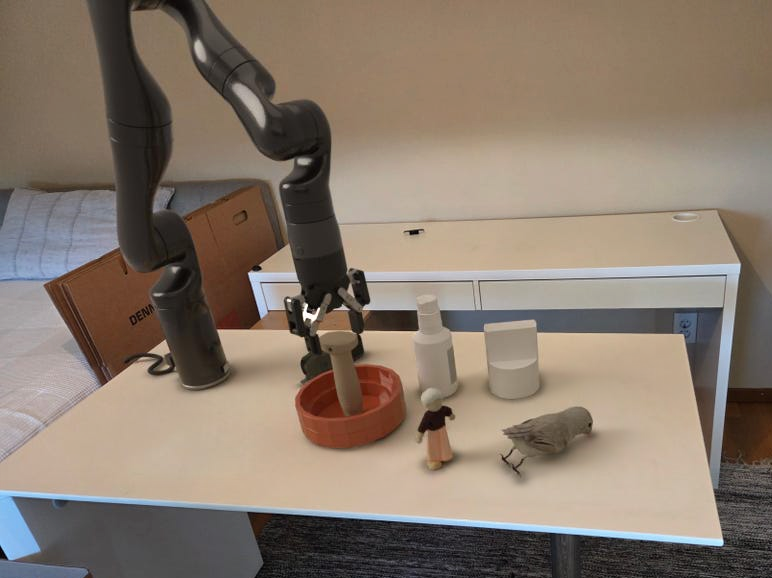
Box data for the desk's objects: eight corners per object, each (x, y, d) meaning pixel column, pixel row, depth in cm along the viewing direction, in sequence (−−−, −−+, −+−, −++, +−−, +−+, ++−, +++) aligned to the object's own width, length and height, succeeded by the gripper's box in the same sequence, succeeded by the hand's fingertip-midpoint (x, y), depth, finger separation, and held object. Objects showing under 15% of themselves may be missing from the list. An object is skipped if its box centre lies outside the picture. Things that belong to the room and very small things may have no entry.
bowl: (282, 430, 108) (273, 400, 105) (359, 383, 120) (353, 355, 117) (350, 465, 98) (342, 433, 95) (427, 410, 109) (423, 380, 106)
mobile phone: (355, 330, 129) (290, 358, 120) (364, 334, 127) (298, 362, 118) (359, 352, 131) (295, 381, 122) (367, 356, 129) (303, 386, 120)
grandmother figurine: (437, 477, 93) (426, 405, 87) (417, 470, 95) (404, 399, 89) (466, 448, 99) (457, 378, 93) (446, 442, 101) (436, 373, 95)
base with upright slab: (536, 370, 118) (533, 312, 112) (542, 396, 110) (539, 335, 104) (488, 375, 118) (482, 316, 112) (490, 401, 110) (484, 340, 104)
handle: (364, 426, 105) (346, 347, 98) (331, 421, 107) (311, 343, 100) (377, 410, 109) (362, 333, 102) (345, 406, 111) (328, 329, 104)
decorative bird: (602, 441, 97) (602, 400, 94) (516, 483, 91) (512, 441, 87) (579, 425, 101) (578, 385, 98) (495, 464, 95) (491, 423, 91)
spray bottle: (466, 386, 115) (455, 295, 106) (438, 403, 111) (425, 310, 102) (440, 375, 119) (427, 287, 110) (413, 391, 115) (398, 301, 106)
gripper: (337, 229, 100) (355, 321, 108) (261, 258, 91) (287, 356, 99) (369, 235, 96) (386, 331, 104) (292, 266, 87) (317, 369, 95)
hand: (337, 343), depth 101 cm, fingers open, 8 cm apart
